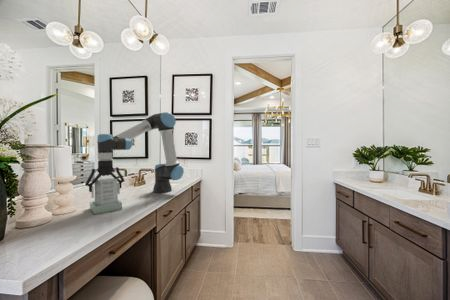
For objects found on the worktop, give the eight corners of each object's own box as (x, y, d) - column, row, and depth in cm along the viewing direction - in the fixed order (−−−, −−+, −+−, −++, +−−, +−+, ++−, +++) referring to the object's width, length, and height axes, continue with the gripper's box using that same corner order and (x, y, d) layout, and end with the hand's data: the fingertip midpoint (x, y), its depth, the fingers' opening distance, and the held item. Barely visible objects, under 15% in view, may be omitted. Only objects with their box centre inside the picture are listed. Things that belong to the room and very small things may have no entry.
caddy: (115, 204, 130) (115, 198, 130) (122, 209, 118) (121, 202, 118) (90, 208, 121) (89, 202, 121) (93, 214, 109) (93, 207, 109)
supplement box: (118, 206, 121) (118, 178, 121) (102, 210, 113) (101, 181, 113) (110, 204, 126) (110, 177, 126) (94, 208, 119) (93, 179, 119)
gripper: (126, 158, 130) (126, 191, 131) (78, 160, 114) (79, 198, 114) (129, 159, 125) (130, 193, 125) (80, 161, 108) (81, 200, 109)
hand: (106, 195), depth 120 cm, fingers open, 13 cm apart
